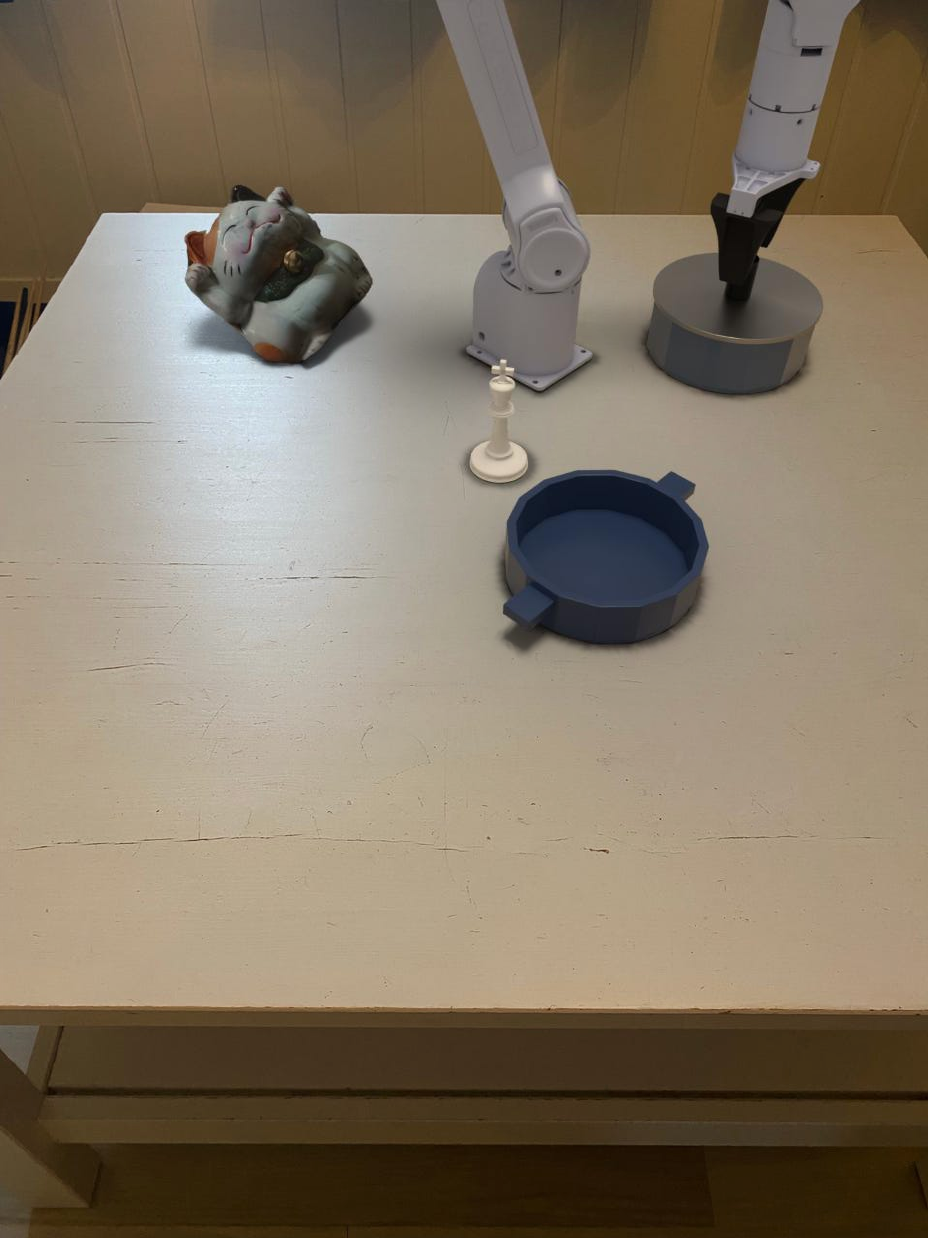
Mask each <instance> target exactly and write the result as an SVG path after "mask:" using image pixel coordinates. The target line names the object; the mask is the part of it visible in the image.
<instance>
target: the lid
mask: <svg viewBox="0 0 928 1238" xmlns="http://www.w3.org/2000/svg"><path fill="white" fill-rule="evenodd" d="M652 285H653V286H652V298H653V300H654V301H655V303H656V305H657V307H658V308H659V309H660V311H661V312H662V313H663V314H664V315H665V316H666V317H667V318H669V319H670V320H671V321H673V322H674V323H676V324H677V325H679V326H681V327H682V328H684V329H686V330H688V331H691V332H693V333H695V334H698V335H701V336H704V337H707V338H711V339H714V340H719V341H724V342H730V343H738V344H770V343H777V342H783V341H787V340H790V339H793V338H796V337H798V336H801V335H803V334H804V333H806V332H808V331H809V330H810V329H812V328H813V327H814V326H815V327H816V325H817V324H818V323H819V321H820V319H821V317H822V314H823V311H824V300H823V296H822V294H821V292H820V291H819V289H818V288H817V287H816V285H815V284H814V283H813V282H812V281H811V280H810V279H809V278H808V277H806V276H805V275H804V274H802V273H800V272H799V271H797V270H795V269H793V268H791V267H789V266H787V265H786V264H783V263H780V262H778V261H776V260H771V259H769V258H765V257H761V256H759V255H758V254H757V255H756V258H755V260H754V263H753V265H752V268H751V270H750V272H749V274H748V276H747V278H746V279H745V281H744V283H743V284H742V286H739V285H735V284H731V283H728V282H724V281H720V280H719V268H718V252H707V253H706V252H705V253H699V254H698V253H697V254H693V255H688V256H685V257H682V258H679V259H677V260H674V261H673V262H670V263H668V264H666V266H665V267H663V268H662V269H661V270H660V271H659V272H658V274H656V276H655V278H654V281H653V284H652ZM654 301H653V302H654Z"/></svg>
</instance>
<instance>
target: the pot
mask: <svg viewBox="0 0 928 1238" xmlns="http://www.w3.org/2000/svg"><path fill="white" fill-rule="evenodd" d="M815 328H816V325H815V326H814V327H813V328H812V329H810V330H809V331H808V332H806V333H804V334H803V335H801V336H798V337H796V338H793V339H790V340H787V341H783V342H777V343H770V344H738V343H730V342H724V341H719V340H714V339H711V338H707V337H704V336H701V335H698V334H695V333H693V332H691V331H688V330H686V329H684V328H682V327H681V326H679V325H677V324H676V323H674V322H673V321H671V320H670V319H669V318H667V317H666V316H665V315H664V314H663V313H662V312H661V311H660V309H659V308H658V307H657V305H656V303H655V301H653V305H652V312H651V318H650V323H649V328H648V334H647V340H646V345H645V346H646V348H647V351H648V353H649V355H650V357H651V359H652V360H653V361H654V363H655V364H656V365H657V367H659V368H660V369H661V370H662V371H663V372H665V373H666V374H668V375H669V376H671V377H672V378H674V379H675V380H677V381H679V382H682V383H684V384H686V385H688V386H691V387H694V388H696V389H701V390H705V391H708V392H714V393H719V394H728V395H729V394H731V395H744V394H745V395H747V394H749V395H750V394H755V393H762V392H766V391H770V390H773V389H776V388H778V387H780V386H783V385H784V384H786V383H788V382H789V381H791V379H792V378H794V377H795V375H796V374H797V373H798V371H799V370H800V369H802V368H803V365H804V362H805V359H806V356H807V353H808V350H809V347H810V344H811V340H812V337H813V334H814V331H815Z"/></svg>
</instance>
